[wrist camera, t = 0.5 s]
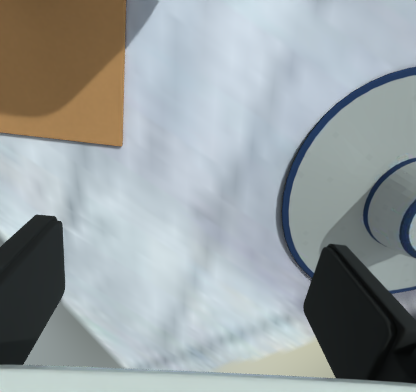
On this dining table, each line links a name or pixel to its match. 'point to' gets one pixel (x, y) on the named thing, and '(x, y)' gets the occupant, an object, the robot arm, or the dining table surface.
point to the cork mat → (63, 69)
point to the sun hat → (359, 183)
